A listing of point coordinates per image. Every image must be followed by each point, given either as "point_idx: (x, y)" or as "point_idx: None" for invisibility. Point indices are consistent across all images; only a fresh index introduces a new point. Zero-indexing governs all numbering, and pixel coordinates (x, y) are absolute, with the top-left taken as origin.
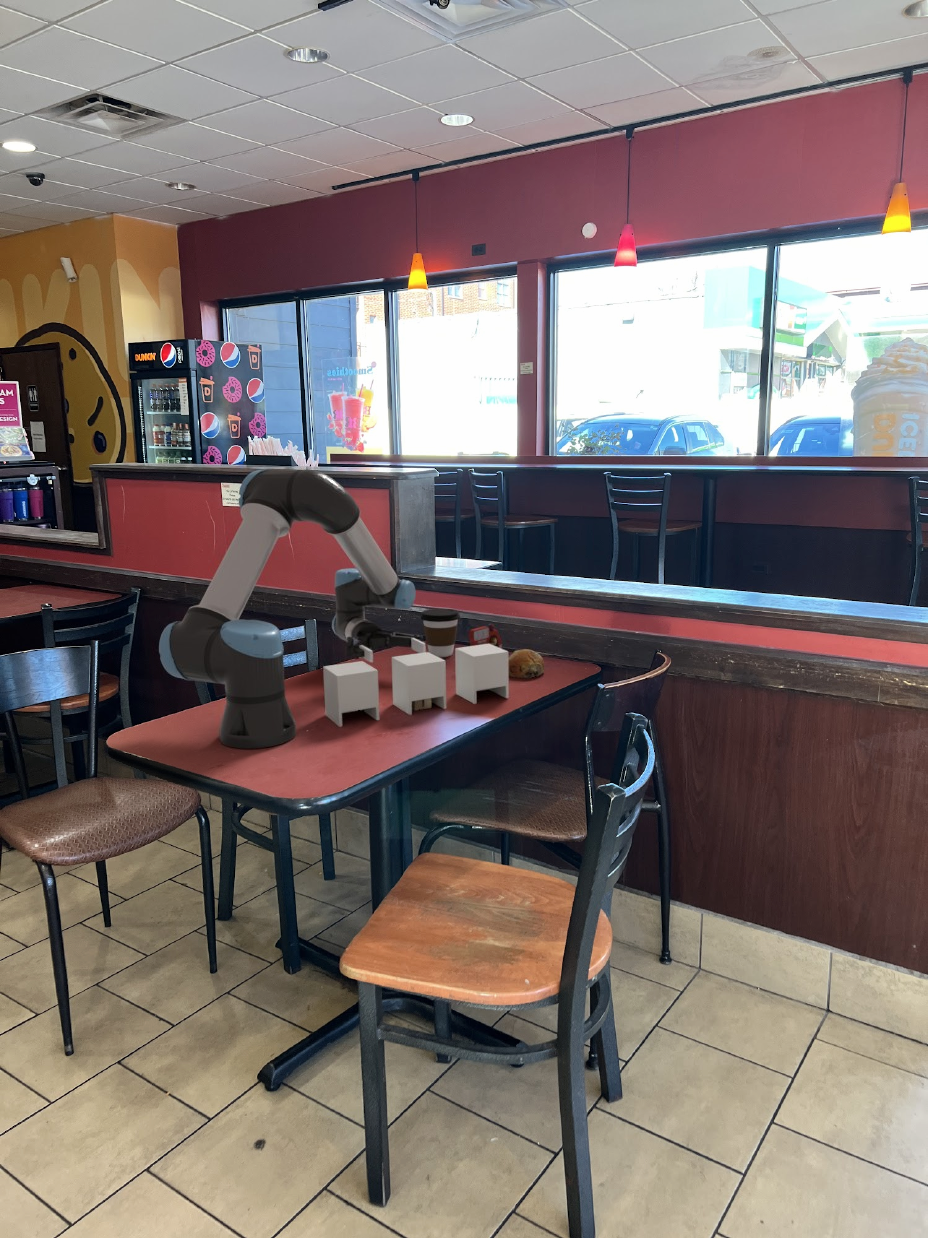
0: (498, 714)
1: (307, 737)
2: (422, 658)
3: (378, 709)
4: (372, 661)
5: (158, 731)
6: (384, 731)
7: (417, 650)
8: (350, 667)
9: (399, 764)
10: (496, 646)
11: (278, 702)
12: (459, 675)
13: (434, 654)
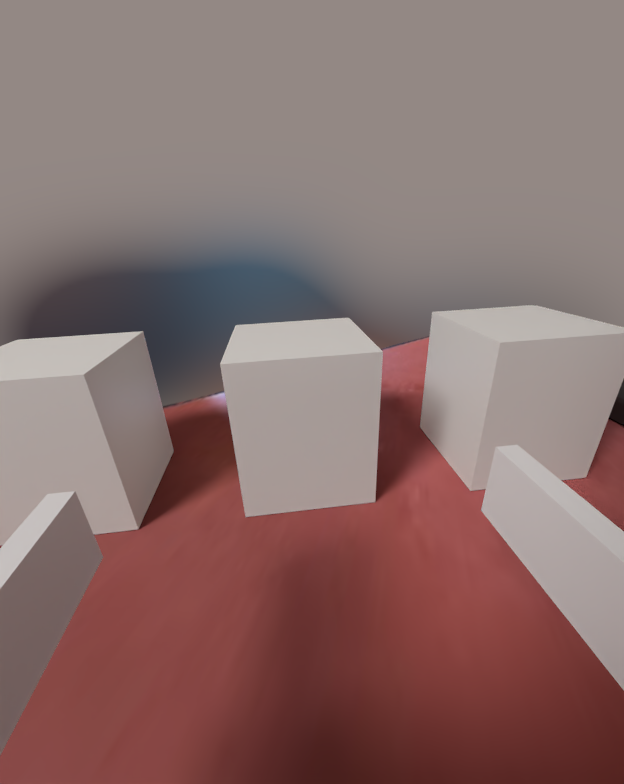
0: (185, 406)
1: None
2: (282, 336)
3: (423, 405)
4: (485, 505)
5: None
6: (409, 394)
7: (41, 654)
8: (522, 322)
9: (395, 345)
10: None
11: None
12: (128, 450)
13: None
